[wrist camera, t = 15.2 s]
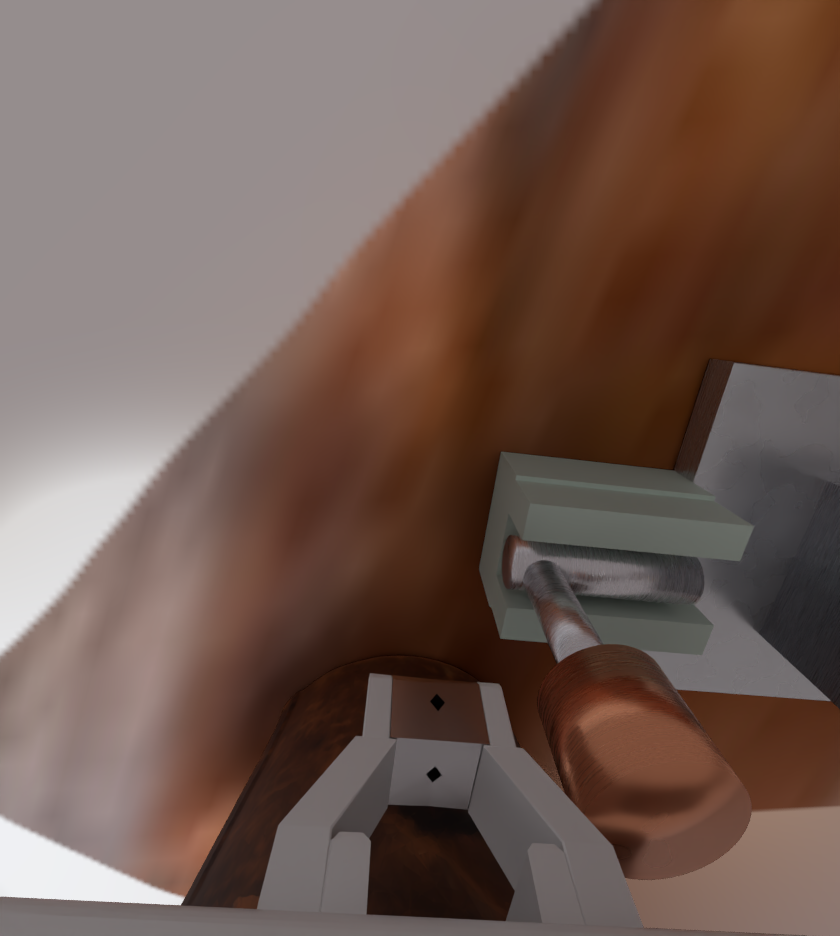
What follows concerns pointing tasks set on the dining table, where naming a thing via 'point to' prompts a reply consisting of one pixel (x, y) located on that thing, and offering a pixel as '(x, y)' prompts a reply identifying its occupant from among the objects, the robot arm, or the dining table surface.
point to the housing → (812, 601)
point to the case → (396, 835)
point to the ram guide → (606, 541)
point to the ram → (626, 712)
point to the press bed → (755, 513)
